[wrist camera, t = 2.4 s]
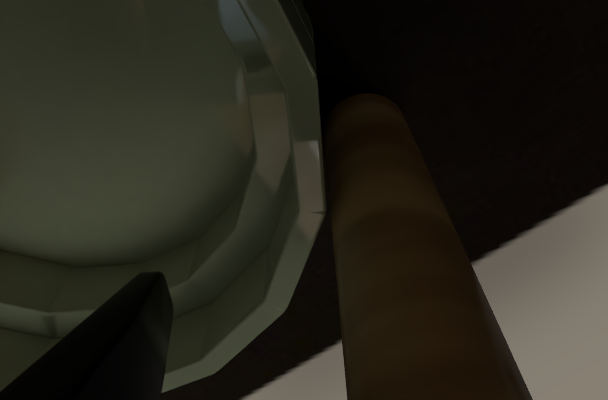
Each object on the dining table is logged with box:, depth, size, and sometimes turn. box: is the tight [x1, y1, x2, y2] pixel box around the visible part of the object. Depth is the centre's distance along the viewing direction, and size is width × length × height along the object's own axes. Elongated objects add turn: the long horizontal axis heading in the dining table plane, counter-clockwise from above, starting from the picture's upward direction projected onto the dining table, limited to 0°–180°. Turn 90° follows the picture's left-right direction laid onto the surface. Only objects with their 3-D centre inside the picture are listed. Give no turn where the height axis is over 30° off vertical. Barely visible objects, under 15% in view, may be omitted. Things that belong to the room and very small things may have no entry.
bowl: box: [0, 0, 327, 393], centre depth 12 cm, size 14×14×5 cm
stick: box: [323, 93, 533, 400], centre depth 10 cm, size 2×2×12 cm
